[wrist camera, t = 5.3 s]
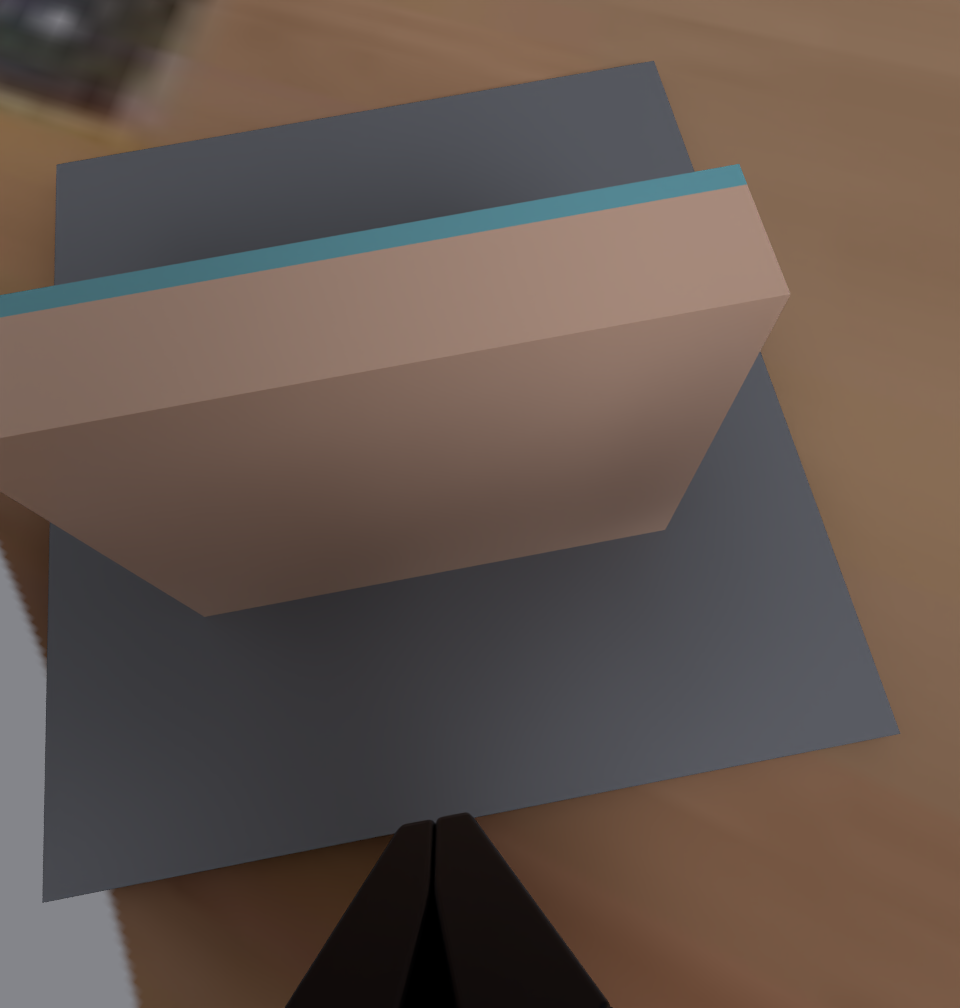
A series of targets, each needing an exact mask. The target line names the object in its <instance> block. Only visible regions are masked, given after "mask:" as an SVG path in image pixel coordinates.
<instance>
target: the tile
mask: <svg viewBox="0 0 960 1008" xmlns="http://www.w3.org/2000/svg"><path fill="white" fill-rule="evenodd" d="M789 296H790V292H789V289H788V287H787V284H786V282H785V279H784V277H783V274H782V271H781V269H780V266H779V264H778V261H777V259H776V256H775V254H774V251H773V249H772V246H771V244H770V241H769V239H768V236H767V233H766V231H765V228H764V226H763V223H762V221H761V218H760V216H759V213H758V211H757V208H756V206H755V203H754V201H753V198H752V196H751V193H750V190H749V188H748V185H747V183H746V180H745V178H744V175H743V173H742V170H741V168H740V165H739V164H737V165H731V166H725V167H720V168H714V169H709V170H703V171H697V172H692V173H686V174H680V175H675V176H669V177H663V178H658V179H652V180H647V181H641V182H635V183H630V184H624V185H618V186H613V187H607V188H602V189H596V190H590V191H585V192H579V193H573V194H568V195H562V196H556V197H551V198H545V199H540V200H534V201H528V202H523V203H517V204H511V205H506V206H500V207H495V208H489V209H483V210H478V211H472V212H466V213H461V214H455V215H449V216H444V217H438V218H433V219H427V220H421V221H416V222H410V223H404V224H399V225H393V226H388V227H382V228H376V229H371V230H365V231H359V232H354V233H348V234H343V235H337V236H331V237H326V238H320V239H314V240H309V241H303V242H297V243H292V244H286V245H281V246H275V247H269V248H264V249H258V250H252V251H247V252H241V253H236V254H230V255H224V256H219V257H213V258H207V259H202V260H196V261H190V262H185V263H179V264H174V265H168V266H162V267H157V268H151V269H145V270H140V271H134V272H129V273H123V274H117V275H112V276H106V277H100V278H95V279H89V280H83V281H78V282H72V283H67V284H61V285H55V286H50V287H44V288H38V289H33V290H27V291H22V292H16V293H10V294H5V295H0V492H2V493H4V494H5V495H7V496H8V497H10V498H12V499H13V500H15V501H17V502H18V503H20V504H21V505H23V506H25V507H26V508H28V509H30V510H31V511H33V512H34V513H36V514H38V515H39V516H41V517H43V518H44V519H46V520H48V521H49V522H51V523H52V524H54V525H56V526H57V527H59V528H61V529H62V530H64V531H65V532H67V533H69V534H70V535H72V536H74V537H75V538H77V539H78V540H80V541H82V542H83V543H85V544H87V545H88V546H90V547H91V548H93V549H95V550H96V551H98V552H100V553H101V554H103V555H105V556H106V557H108V558H109V559H111V560H113V561H114V562H116V563H118V564H119V565H121V566H122V567H124V568H126V569H127V570H129V571H131V572H132V573H134V574H135V575H137V576H139V577H140V578H142V579H144V580H145V581H147V582H148V583H150V584H152V585H153V586H155V587H157V588H158V589H160V590H162V591H163V592H165V593H166V594H168V595H170V596H171V597H173V598H175V599H176V600H178V601H179V602H181V603H183V604H184V605H186V606H188V607H189V608H191V609H192V610H194V611H196V612H197V613H199V614H201V615H202V616H204V617H207V616H212V615H217V614H223V613H228V612H233V611H239V610H244V609H249V608H254V607H260V606H265V605H270V604H276V603H281V602H286V601H292V600H297V599H302V598H307V597H313V596H318V595H323V594H329V593H334V592H339V591H344V590H350V589H355V588H360V587H366V586H371V585H376V584H381V583H387V582H392V581H397V580H403V579H408V578H413V577H418V576H424V575H429V574H434V573H440V572H445V571H450V570H455V569H461V568H466V567H471V566H477V565H482V564H487V563H493V562H498V561H503V560H508V559H514V558H519V557H524V556H530V555H535V554H540V553H545V552H551V551H556V550H561V549H567V548H572V547H577V546H582V545H588V544H593V543H598V542H604V541H609V540H614V539H619V538H625V537H630V536H635V535H641V534H646V533H651V532H656V531H662V530H665V529H666V527H667V525H668V524H669V522H670V520H671V518H672V516H673V514H674V512H675V510H676V509H677V507H678V505H679V503H680V501H681V499H682V497H683V495H684V493H685V492H686V490H687V488H688V486H689V484H690V482H691V480H692V478H693V477H694V475H695V473H696V471H697V469H698V467H699V465H700V463H701V461H702V460H703V458H704V456H705V454H706V452H707V450H708V448H709V446H710V445H711V443H712V441H713V439H714V437H715V435H716V433H717V431H718V429H719V428H720V426H721V424H722V422H723V420H724V418H725V416H726V414H727V413H728V411H729V409H730V407H731V405H732V403H733V401H734V399H735V397H736V396H737V394H738V392H739V390H740V388H741V386H742V384H743V382H744V381H745V379H746V377H747V375H748V373H749V371H750V369H751V367H752V365H753V364H754V362H755V360H756V358H757V356H758V354H759V352H760V350H761V349H762V347H763V345H764V343H765V341H766V339H767V337H768V335H769V333H770V332H771V330H772V328H773V326H774V324H775V322H776V320H777V318H778V317H779V315H780V313H781V311H782V309H783V307H784V305H785V303H786V301H787V300H788V298H789Z"/></svg>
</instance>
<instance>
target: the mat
mask: <svg viewBox="0 0 960 1008" xmlns="http://www.w3.org/2000/svg"><path fill="white" fill-rule="evenodd" d="M692 172H694V169H693V167H692V164H691V161H690V158H689V156H688V153H687V150H686V147H685V145H684V142H683V139H682V137H681V134H680V131H679V128H678V126H677V123H676V120H675V117H674V115H673V112H672V109H671V107H670V104H669V101H668V98H667V96H666V93H665V90H664V87H663V85H662V82H661V79H660V77H659V74H658V71H657V68H656V66H655V63H654V61H651V62H645V63H639V64H633V65H627V66H622V67H616V68H610V69H604V70H599V71H593V72H587V73H581V74H576V75H570V76H564V77H558V78H553V79H547V80H541V81H535V82H530V83H524V84H518V85H512V86H507V87H501V88H495V89H489V90H484V91H478V92H472V93H466V94H461V95H455V96H449V97H443V98H438V99H432V100H426V101H420V102H415V103H409V104H403V105H397V106H392V107H386V108H380V109H374V110H368V111H363V112H357V113H351V114H345V115H340V116H334V117H328V118H322V119H317V120H311V121H305V122H299V123H294V124H288V125H282V126H276V127H271V128H265V129H259V130H253V131H248V132H242V133H236V134H230V135H225V136H219V137H213V138H207V139H202V140H196V141H190V142H184V143H179V144H173V145H167V146H161V147H156V148H150V149H144V150H138V151H133V152H127V153H121V154H115V155H110V156H104V157H98V158H92V159H86V160H81V161H75V162H69V163H63V164H58V165H57V174H56V226H55V278H54V286H55V285H61V284H67V283H72V282H78V281H83V280H89V279H95V278H100V277H106V276H112V275H117V274H123V273H129V272H134V271H140V270H145V269H151V268H157V267H162V266H168V265H174V264H179V263H185V262H190V261H196V260H202V259H207V258H213V257H219V256H224V255H230V254H236V253H241V252H247V251H252V250H258V249H264V248H269V247H275V246H281V245H286V244H292V243H297V242H303V241H309V240H314V239H320V238H326V237H331V236H337V235H343V234H348V233H354V232H359V231H365V230H371V229H376V228H382V227H388V226H393V225H399V224H404V223H410V222H416V221H421V220H427V219H433V218H438V217H444V216H449V215H455V214H461V213H466V212H472V211H478V210H483V209H489V208H495V207H500V206H506V205H511V204H517V203H523V202H528V201H534V200H540V199H545V198H551V197H556V196H562V195H568V194H573V193H579V192H585V191H590V190H596V189H602V188H607V187H613V186H618V185H624V184H630V183H635V182H641V181H647V180H652V179H658V178H663V177H669V176H675V175H680V174H686V173H692ZM46 697H47V698H46V747H45V750H46V751H45V798H44V799H45V800H44V803H45V805H44V850H43V902H49V901H54V900H59V899H63V898H69V897H74V896H79V895H84V894H89V893H94V892H99V891H104V890H110V889H115V888H120V887H125V886H130V885H135V884H140V883H145V882H150V881H155V880H160V879H165V878H170V877H175V876H181V875H186V874H191V873H196V872H201V871H206V870H211V869H216V868H221V867H226V866H231V865H236V864H241V863H246V862H252V861H257V860H262V859H267V858H272V857H277V856H282V855H287V854H292V853H297V852H302V851H307V850H312V849H317V848H323V847H328V846H333V845H338V844H343V843H348V842H353V841H358V840H363V839H368V838H373V837H378V836H383V835H388V834H394V833H396V831H397V830H398V829H399V827H400V826H402V825H403V824H407V823H412V822H417V821H422V820H428V819H431V820H433V821H434V822H435V824H436V821H437V819H438V818H440V817H443V816H448V815H453V814H458V813H463V812H467V813H470V814H471V815H472V816H473V818H475V817H480V816H485V815H490V814H495V813H500V812H505V811H510V810H515V809H520V808H525V807H530V806H536V805H541V804H546V803H551V802H556V801H561V800H566V799H571V798H576V797H581V796H586V795H591V794H596V793H601V792H607V791H612V790H617V789H622V788H627V787H632V786H637V785H642V784H647V783H652V782H657V781H662V780H667V779H672V778H678V777H683V776H688V775H693V774H698V773H703V772H708V771H713V770H718V769H723V768H728V767H733V766H738V765H743V764H749V763H754V762H759V761H764V760H769V759H774V758H779V757H784V756H789V755H794V754H799V753H804V752H809V751H814V750H820V749H825V748H830V747H835V746H840V745H845V744H850V743H855V742H860V741H865V740H870V739H875V738H880V737H885V736H891V735H896V734H900V732H899V729H898V726H897V723H896V721H895V718H894V715H893V712H892V710H891V707H890V704H889V702H888V699H887V696H886V693H885V691H884V688H883V685H882V682H881V680H880V677H879V674H878V672H877V669H876V666H875V663H874V661H873V658H872V655H871V652H870V650H869V647H868V644H867V642H866V639H865V636H864V633H863V631H862V628H861V625H860V622H859V620H858V617H857V614H856V611H855V609H854V606H853V603H852V601H851V598H850V595H849V592H848V590H847V587H846V584H845V581H844V579H843V576H842V573H841V571H840V568H839V565H838V562H837V560H836V557H835V554H834V551H833V549H832V546H831V543H830V541H829V538H828V535H827V532H826V530H825V527H824V524H823V521H822V519H821V516H820V513H819V510H818V508H817V505H816V502H815V500H814V497H813V494H812V491H811V489H810V486H809V483H808V480H807V478H806V475H805V472H804V470H803V467H802V464H801V461H800V459H799V456H798V453H797V450H796V448H795V445H794V442H793V440H792V437H791V434H790V431H789V429H788V426H787V423H786V420H785V418H784V415H783V412H782V410H781V407H780V404H779V401H778V399H777V396H776V393H775V390H774V388H773V385H772V382H771V379H770V377H769V374H768V371H767V369H766V366H765V363H764V360H763V358H762V355H761V352H759V354H758V356H757V358H756V360H755V362H754V364H753V365H752V367H751V369H750V371H749V373H748V375H747V377H746V379H745V381H744V382H743V384H742V386H741V388H740V390H739V392H738V394H737V396H736V397H735V399H734V401H733V403H732V405H731V407H730V409H729V411H728V413H727V414H726V416H725V418H724V420H723V422H722V424H721V426H720V428H719V429H718V431H717V433H716V435H715V437H714V439H713V441H712V443H711V445H710V446H709V448H708V450H707V452H706V454H705V456H704V458H703V460H702V461H701V463H700V465H699V467H698V469H697V471H696V473H695V475H694V477H693V478H692V480H691V482H690V484H689V486H688V488H687V490H686V492H685V493H684V495H683V497H682V499H681V501H680V503H679V505H678V507H677V509H676V510H675V512H674V514H673V516H672V518H671V520H670V522H669V524H668V525H667V527H666V529H665V530H662V531H656V532H651V533H646V534H641V535H635V536H630V537H625V538H619V539H614V540H609V541H604V542H598V543H593V544H588V545H582V546H577V547H572V548H567V549H561V550H556V551H551V552H545V553H540V554H535V555H530V556H524V557H519V558H514V559H508V560H503V561H498V562H493V563H487V564H482V565H477V566H471V567H466V568H461V569H455V570H450V571H445V572H440V573H434V574H429V575H424V576H418V577H413V578H408V579H403V580H397V581H392V582H387V583H381V584H376V585H371V586H366V587H360V588H355V589H350V590H344V591H339V592H334V593H329V594H323V595H318V596H313V597H307V598H302V599H297V600H292V601H286V602H281V603H276V604H270V605H265V606H260V607H254V608H249V609H244V610H239V611H233V612H228V613H223V614H217V615H212V616H207V617H204V616H202V615H201V614H199V613H197V612H196V611H194V610H192V609H191V608H189V607H188V606H186V605H184V604H183V603H181V602H179V601H178V600H176V599H175V598H173V597H171V596H170V595H168V594H166V593H165V592H163V591H162V590H160V589H158V588H157V587H155V586H153V585H152V584H150V583H148V582H147V581H145V580H144V579H142V578H140V577H139V576H137V575H135V574H134V573H132V572H131V571H129V570H127V569H126V568H124V567H122V566H121V565H119V564H118V563H116V562H114V561H113V560H111V559H109V558H108V557H106V556H105V555H103V554H101V553H100V552H98V551H96V550H95V549H93V548H91V547H90V546H88V545H87V544H85V543H83V542H82V541H80V540H78V539H77V538H75V537H74V536H72V535H70V534H69V533H67V532H65V531H64V530H62V529H61V528H59V527H57V526H56V525H54V524H52V523H51V522H50V538H49V590H48V642H47V694H46Z"/></svg>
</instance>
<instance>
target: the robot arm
mask: <svg viewBox="0 0 960 1008" xmlns="http://www.w3.org/2000/svg"><path fill="white" fill-rule="evenodd" d="M285 1008H613V1007H610V1004H609V1002H608V1001H607V999H606V998H605V997H604V995H603V994H602V992H601V991H600V990H599V988H598V987H597V986H596V984H595V983H594V982H593V980H592V979H591V977H590V976H589V975H588V973H587V972H586V971H585V969H584V968H583V966H582V965H581V964H580V962H579V961H578V960H577V958H576V957H575V956H574V954H573V953H572V951H571V950H570V949H569V947H568V946H567V945H566V943H565V942H564V941H563V939H562V938H561V936H560V935H559V934H558V932H557V931H556V930H555V928H554V927H553V926H552V924H551V923H550V921H549V920H548V919H547V917H546V916H545V915H544V913H543V912H542V910H541V909H540V908H539V906H538V905H537V904H536V902H535V901H534V900H533V898H532V897H531V895H530V894H529V893H528V891H527V890H526V889H525V887H524V886H523V885H522V883H521V882H520V880H519V879H518V878H517V876H516V875H515V874H514V872H513V871H512V869H511V868H510V867H509V865H508V864H507V863H506V861H505V860H504V859H503V857H502V856H501V854H500V853H499V852H498V850H497V849H496V848H495V846H494V845H493V844H492V842H491V841H490V839H489V838H488V837H487V835H486V834H485V833H484V831H483V830H482V829H481V827H480V826H479V824H478V823H477V822H476V820H475V819H474V818H473V816H472V815H471V814H470V813H467V812H463V813H458V814H453V815H448V816H443V817H440V818H438V819H437V821H436V824H435V822H434V821H433V820H431V819H428V820H422V821H417V822H412V823H407V824H403V825H402V826H400V827H399V829H398V830H397V831H396V833H395V834H394V836H393V838H392V839H391V841H390V842H389V844H388V846H387V847H386V849H385V850H384V852H383V853H382V855H381V857H380V858H379V860H378V861H377V863H376V864H375V866H374V868H373V869H372V871H371V872H370V874H369V875H368V877H367V879H366V880H365V882H364V883H363V885H362V887H361V888H360V890H359V891H358V893H357V894H356V896H355V898H354V899H353V901H352V902H351V904H350V905H349V907H348V909H347V910H346V912H345V913H344V915H343V916H342V918H341V920H340V921H339V923H338V924H337V926H336V927H335V929H334V931H333V932H332V934H331V935H330V937H329V939H328V940H327V942H326V943H325V945H324V946H323V948H322V950H321V951H320V953H319V954H318V956H317V957H316V959H315V961H314V962H313V964H312V965H311V967H310V968H309V970H308V972H307V973H306V975H305V976H304V978H303V980H302V981H301V983H300V984H299V986H298V987H297V989H296V991H295V992H294V994H293V995H292V997H291V998H290V1000H289V1002H288V1003H287V1005H286V1006H285Z"/></svg>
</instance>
